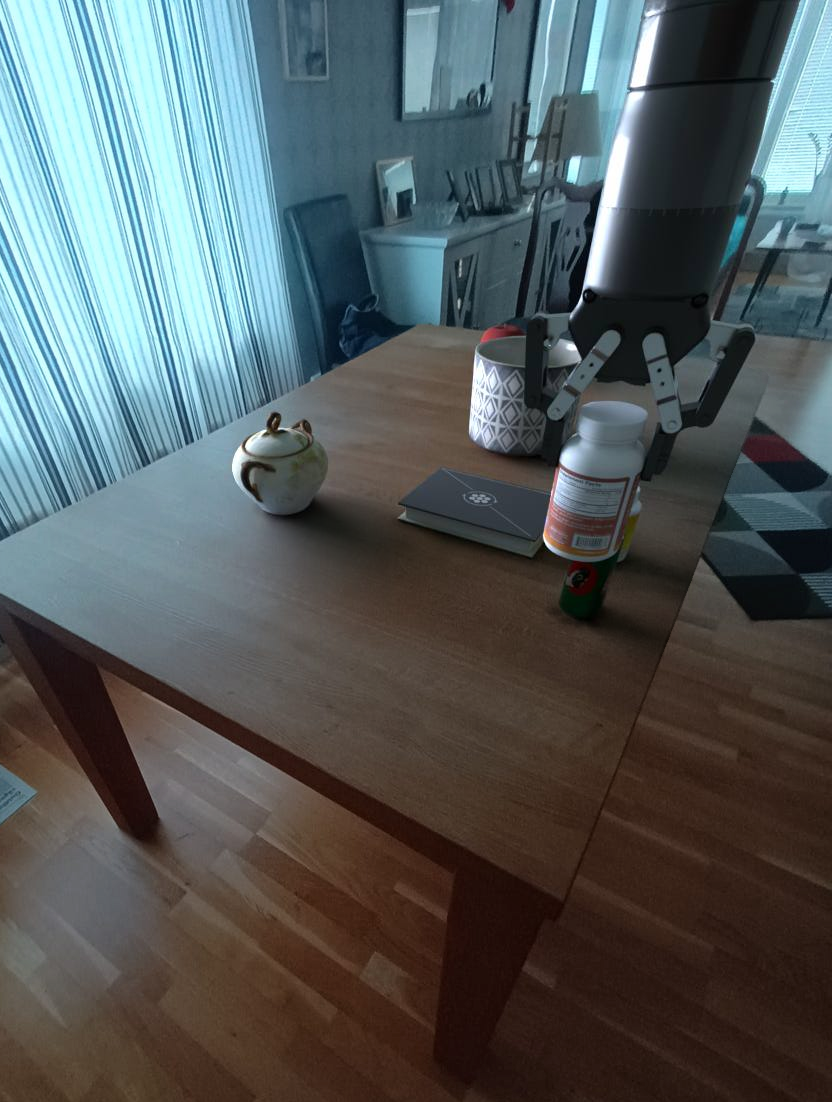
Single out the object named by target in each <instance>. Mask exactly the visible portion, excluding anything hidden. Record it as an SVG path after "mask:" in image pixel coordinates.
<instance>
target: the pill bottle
mask: <svg viewBox="0 0 832 1102" xmlns="http://www.w3.org/2000/svg"><path fill="white" fill-rule="evenodd" d="M648 418H649V414H648V412H647V410H646V409H644V408H643V407H641V406H638V405H636V404H633V403H629V402H625V401H624V402H623V401H616V400H600V401H592V402H588V403H585V404H583V405H582V406H580V408H579V410H578V412H577V417H576V421H575V429H574V430H575V433H574V434H573V435H570V438H569V439H567V440H566V441H565V443H564V444H563V445H562V447H561V450H560V454H559V458H558V463H557V467H556V468H555V472H554V478H553V483H552V488H551V498H550V503H549V509H548V513H547V518H546V523H545V528H544V535H543V538H544V543H545V546H546V547H547V549H549V550H550V552H552V553H554V554H555V555H557V556H559V557H561V558H564V559H567V560H575V561H581V562H596V561H601V560H604V559H607V558H609V557H611V556H612V555H614V554H615V553H616V552H617V550H618V549H619V547H620V544H621V542H622V538H623V535H624V532H625V528H626V525H627V521H628V518H629V515H630V512H631V508H632V505H633V502H634V499H635V495H636V492H637V489H638V486H639V487H640V483H641V481H640V480H641V476H642V473H643V469H644V466H645V462H646V457H647V451H646V449H645V446H644V444H643V443H642V442H641V441H640V440H639V439H641V438H642V436H643V434H645V430H646V426H647V423H648Z"/></svg>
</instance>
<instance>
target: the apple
mask: <svg viewBox="0 0 832 1102" xmlns="http://www.w3.org/2000/svg"><path fill="white" fill-rule="evenodd" d="M510 336H526V332H524V331H523V330H522V328H520V327H518V326H516V325H509V324H507V322H505V323H504V324H499V325H494V326H490V327H489V328H488V329H486V330H485V331H484V333H483V335H482V337H481V340H480V342H479V344H481V343H483V342H485V341H488V340H492V339H496V338H502V337H510Z"/></svg>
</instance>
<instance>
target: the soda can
mask: <svg viewBox="0 0 832 1102" xmlns="http://www.w3.org/2000/svg"><path fill="white" fill-rule="evenodd" d="M624 539H625V532H624V535H623V538H622V542H621V544H620V547H619V549H618V550H617V552H616V553H615V554H614V555H612V556H611V557H609V558H607V559H604V560H601V561H596V562H581V561H575V560H570V559H568V564H567V568H566V571H565V576H564V579H563V583H562V587H561V590H560V594H559V599H558V605H559V607H560V609H561V610H562V611H563V612H564V613H565V614H566V615H567V616H570V617H571V618H572V617H573V618H575V619H581V620H587V619H591V618H593V617H596V616H597V615H599V614H600V613H601V611H602V609H603V606H604V603H605V600H606V597H607V594H608V591H609V587H610V585H611V582H612V579H613V576H614V574H615V573H614V572H615V570H616V566H617V563H618V562H617V560H618V557H619V554H620V551H621V548H622V545H623V542H624Z"/></svg>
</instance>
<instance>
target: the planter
mask: <svg viewBox="0 0 832 1102" xmlns="http://www.w3.org/2000/svg"><path fill="white" fill-rule="evenodd" d="M525 352H526V335H525V336H510V337H502V338H496V339H492V340H488V341H485V342H483V343H481V344H480V343H479V344H478V345H477V346H476V347H475V350H474V363H473V376H472V387H471V401H470V413H469V427H468V434H469V437H470V439H471V440H472V442H474V443H475V444H476V445H477V446H479V447H480V448H483V449H484V450H487V451H490V452H493V453H497V454H500V455H501V454H503V455H507V456H516V457H532V456H533V457H534V456H541V447H542V441H543V436H544V430H545V425H546V417H545V415H544V413H543V412H541V411H539V410H537V409H535V408H534V409H530V408H528V407H526V406H525V404H524V381H525ZM580 361H581V357H580V355H579V353H578V351H577V349H576V346H575V344H574V342H573V340H568V339H564V338H560V339H559V341H558V343H557V345H556V346H555V347H554V348H553V349H551V350H549V360H548V378H547V387H548V388H550V389H552V390H554V391H556V392H558V391H559V390H560V389H561V387H562V386H563V385H564V383H565V382H566V380H567V379H568V378H569V376H570V375H571V373H572V372H573V370H574V369H575V368H576V366H577V365H578V363H579V362H580ZM581 395H582V393H581V394H580V395H579V396H578V397H577V398H576V400H575V401H574V402H573V404H572V405H571V406H570V408H569V409H568V410H567V412H570V413H569V418H568V423H567V428H566V432H565V437H564V442H563V444H564V443H565V441H566V440H567V439H569V438H570V437H571V436H572V431H573V427H574V424H575V420H576V419H575V418H576V415H577V413H578V412H577V411H578V408H579V404H580V400H581Z"/></svg>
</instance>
